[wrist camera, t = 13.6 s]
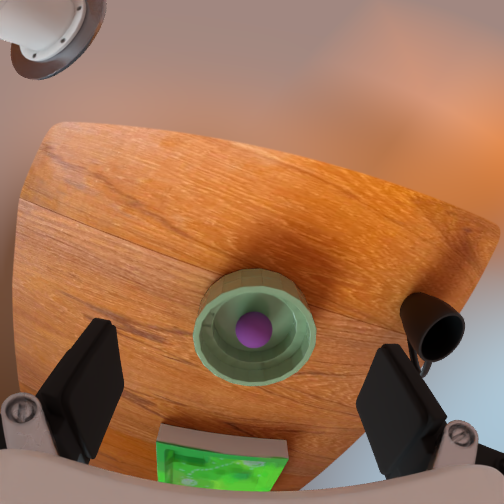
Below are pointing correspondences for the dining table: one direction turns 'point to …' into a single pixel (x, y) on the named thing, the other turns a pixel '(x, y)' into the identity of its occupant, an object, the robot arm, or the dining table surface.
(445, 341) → the mug
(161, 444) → the tray
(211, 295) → the green bowl
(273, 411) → the dining table surface
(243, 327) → the ball
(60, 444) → the robot arm
